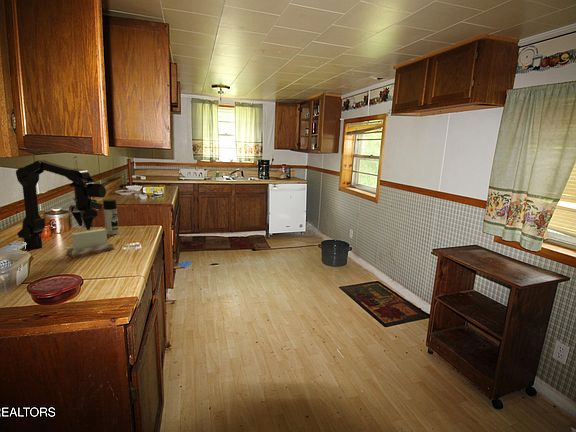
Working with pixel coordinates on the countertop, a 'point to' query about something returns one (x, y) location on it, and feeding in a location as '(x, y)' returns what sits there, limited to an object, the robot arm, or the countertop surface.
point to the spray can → (111, 216)
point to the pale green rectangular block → (89, 239)
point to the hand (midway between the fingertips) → (84, 227)
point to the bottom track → (89, 250)
